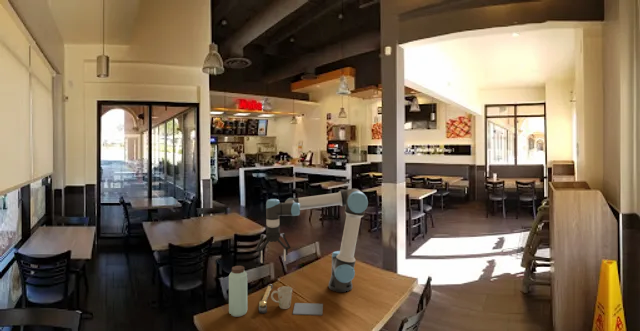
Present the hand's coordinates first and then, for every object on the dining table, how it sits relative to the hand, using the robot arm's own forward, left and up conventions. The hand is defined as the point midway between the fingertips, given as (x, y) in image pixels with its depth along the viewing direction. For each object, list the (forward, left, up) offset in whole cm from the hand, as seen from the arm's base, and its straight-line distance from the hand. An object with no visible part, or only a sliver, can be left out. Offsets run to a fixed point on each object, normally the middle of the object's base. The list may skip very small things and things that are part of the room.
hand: (273, 261), depth 204 cm
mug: (-6, +10, -22) cm, 25 cm away
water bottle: (+16, +19, -22) cm, 33 cm away
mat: (-22, +13, -22) cm, 33 cm away
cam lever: (+3, +6, -19) cm, 20 cm away
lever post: (+3, +17, -22) cm, 28 cm away
